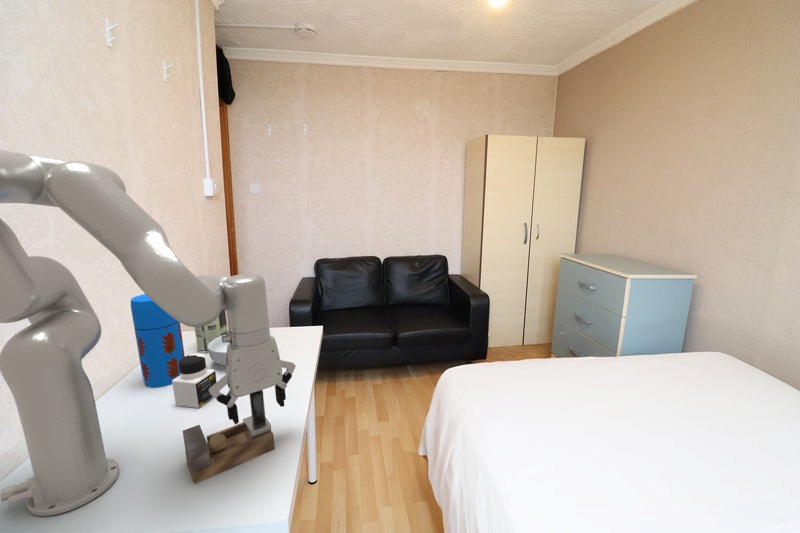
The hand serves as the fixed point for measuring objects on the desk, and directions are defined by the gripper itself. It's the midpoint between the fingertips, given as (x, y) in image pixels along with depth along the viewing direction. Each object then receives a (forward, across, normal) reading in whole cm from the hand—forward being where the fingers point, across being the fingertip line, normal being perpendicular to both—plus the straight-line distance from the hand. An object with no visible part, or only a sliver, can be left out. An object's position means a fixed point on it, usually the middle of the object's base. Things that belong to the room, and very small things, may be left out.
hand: (258, 411), depth 77 cm
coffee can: (+7, +3, +63) cm, 64 cm away
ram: (+5, -1, 0) cm, 5 cm away
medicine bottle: (+7, -8, +28) cm, 30 cm away
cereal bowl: (+7, +7, +45) cm, 46 cm away
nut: (+5, -8, 0) cm, 10 cm away
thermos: (+7, -13, +47) cm, 49 cm away
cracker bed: (+7, -6, 0) cm, 9 cm away
